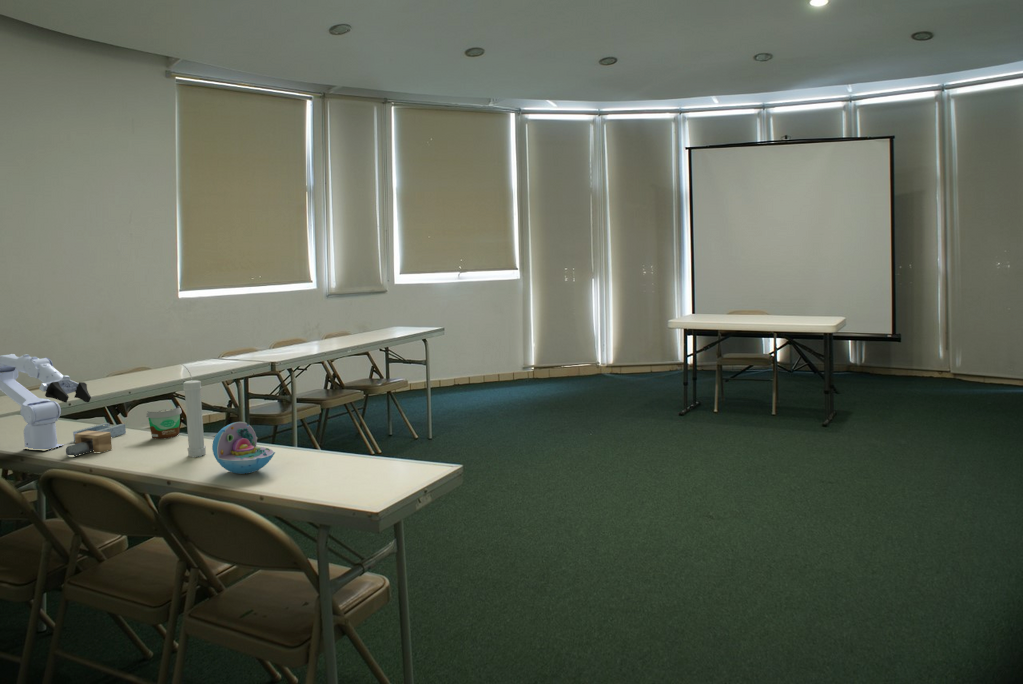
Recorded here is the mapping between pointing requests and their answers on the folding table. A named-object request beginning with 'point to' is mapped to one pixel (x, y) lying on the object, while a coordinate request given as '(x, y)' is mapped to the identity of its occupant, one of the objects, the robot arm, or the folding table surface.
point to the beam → (95, 439)
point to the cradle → (105, 429)
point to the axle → (80, 448)
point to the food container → (164, 423)
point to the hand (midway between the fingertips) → (78, 399)
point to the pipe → (194, 417)
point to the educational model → (240, 449)
